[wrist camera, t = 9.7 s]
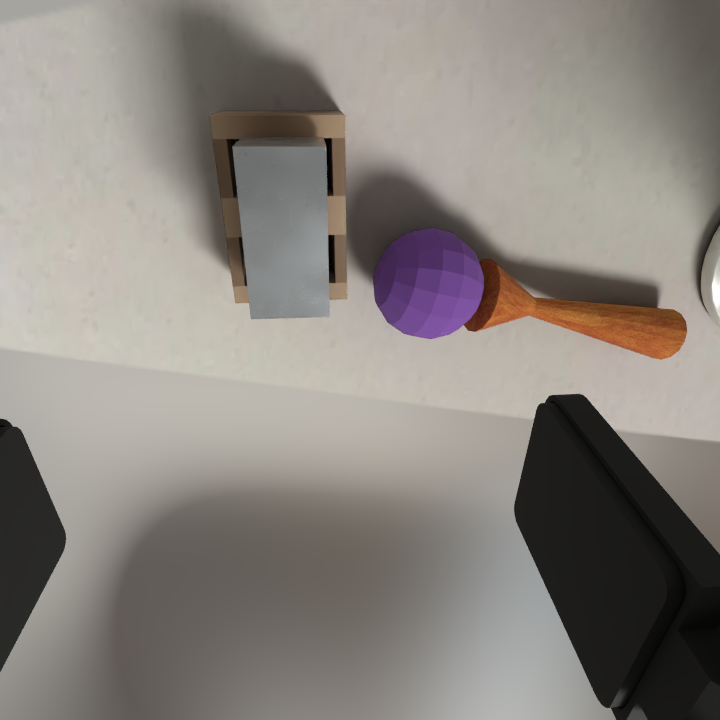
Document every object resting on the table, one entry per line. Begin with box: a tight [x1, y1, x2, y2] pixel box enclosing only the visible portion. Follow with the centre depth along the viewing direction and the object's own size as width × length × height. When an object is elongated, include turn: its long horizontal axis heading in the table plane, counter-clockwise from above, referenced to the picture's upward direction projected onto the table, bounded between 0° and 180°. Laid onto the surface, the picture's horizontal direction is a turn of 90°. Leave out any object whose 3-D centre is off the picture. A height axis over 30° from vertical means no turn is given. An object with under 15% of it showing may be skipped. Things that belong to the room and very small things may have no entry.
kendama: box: [373, 228, 687, 359], centre depth 29 cm, size 6×6×20 cm
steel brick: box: [232, 137, 330, 319], centre depth 24 cm, size 4×7×7 cm, turn 179°
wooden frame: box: [210, 111, 347, 303], centre depth 25 cm, size 6×9×3 cm, turn 0°
